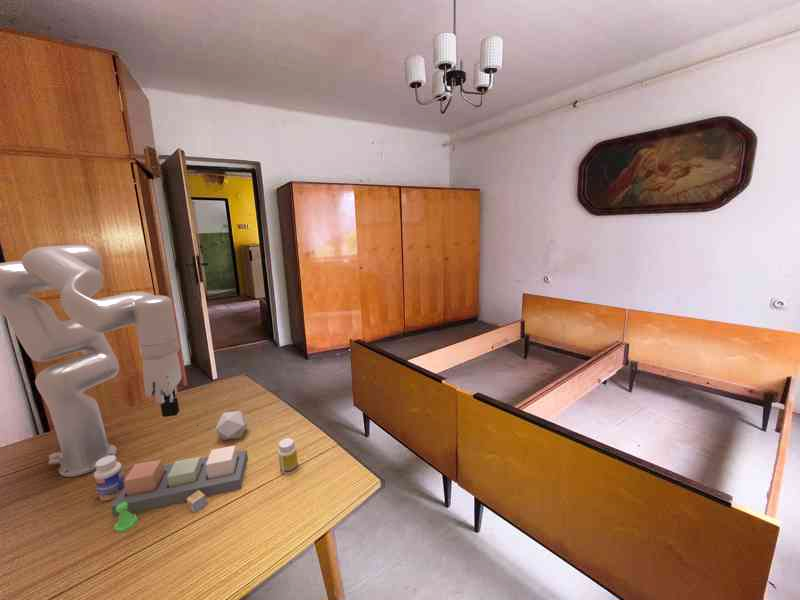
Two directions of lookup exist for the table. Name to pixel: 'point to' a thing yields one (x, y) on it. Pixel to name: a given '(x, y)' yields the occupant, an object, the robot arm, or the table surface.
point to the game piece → (124, 518)
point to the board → (183, 488)
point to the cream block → (221, 462)
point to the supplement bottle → (287, 456)
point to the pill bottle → (109, 477)
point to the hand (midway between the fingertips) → (171, 414)
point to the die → (231, 425)
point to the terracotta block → (144, 477)
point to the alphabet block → (196, 501)
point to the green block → (185, 472)
